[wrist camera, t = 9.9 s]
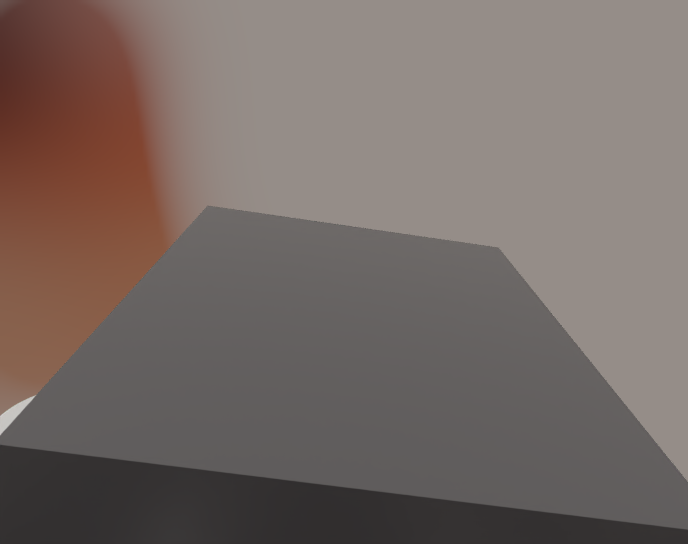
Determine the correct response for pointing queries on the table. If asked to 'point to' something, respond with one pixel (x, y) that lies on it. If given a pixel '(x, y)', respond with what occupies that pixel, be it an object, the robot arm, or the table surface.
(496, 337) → the grey lidded box
